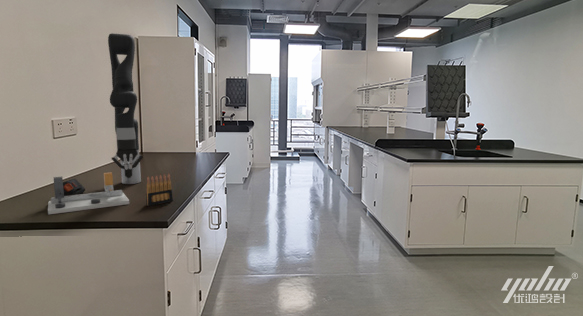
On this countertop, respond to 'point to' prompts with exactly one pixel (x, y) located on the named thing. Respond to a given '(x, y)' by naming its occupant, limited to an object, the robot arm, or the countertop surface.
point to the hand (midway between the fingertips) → (128, 177)
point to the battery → (72, 187)
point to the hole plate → (87, 204)
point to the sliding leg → (108, 183)
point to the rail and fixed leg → (61, 198)
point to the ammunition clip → (158, 190)
